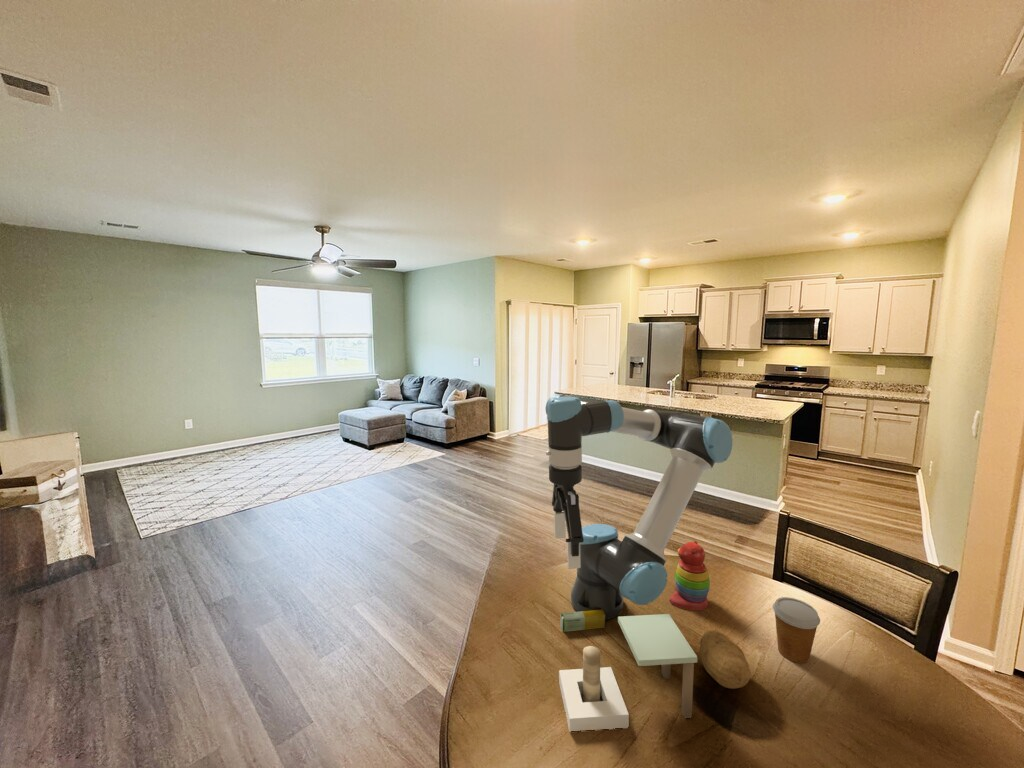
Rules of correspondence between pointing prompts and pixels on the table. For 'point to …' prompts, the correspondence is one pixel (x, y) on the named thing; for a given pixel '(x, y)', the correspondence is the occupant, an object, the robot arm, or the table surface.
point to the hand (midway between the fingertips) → (566, 551)
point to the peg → (591, 674)
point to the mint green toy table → (661, 649)
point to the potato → (724, 660)
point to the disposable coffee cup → (795, 628)
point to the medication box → (582, 620)
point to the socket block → (592, 713)
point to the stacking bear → (691, 578)
